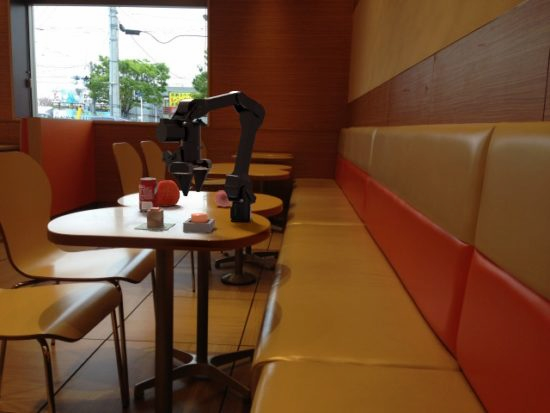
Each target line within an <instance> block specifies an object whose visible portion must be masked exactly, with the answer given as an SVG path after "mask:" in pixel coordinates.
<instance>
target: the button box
mask: <svg viewBox="0 0 550 413" xmlns="http://www.w3.org/2000/svg"><path fill="white" fill-rule="evenodd" d="M215 221H216V219H215V218H208V223H191V217H189V218H187V219H186V220H185V221H184V222H182V228H183V230H182V231H183V232H195V233H197V232H198V233H210V232H212V230H213V229H214V228H215V226H216V225H215V224H216V223H215Z"/></svg>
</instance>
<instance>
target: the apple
mask: <svg viewBox="0 0 550 413" xmlns="http://www.w3.org/2000/svg"><path fill="white" fill-rule="evenodd" d="M157 183H158V207H170V206H171V207H173V206H176V205H177V204H178V203H179V201H180V198H181V192H180V189H179V187H178V186H177V185H178V184H176V182H175V181H173V180H171V179H169V180H168V179H165V180H160V181H159V182H157Z"/></svg>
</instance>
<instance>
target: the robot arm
mask: <svg viewBox="0 0 550 413" xmlns="http://www.w3.org/2000/svg"><path fill="white" fill-rule="evenodd" d="M228 107H232V108H233V110H234V112H236V113H237V115H239V117H238V121H239V123H240V124H239V125H240V128H241V132H240V137H239V142H238V146H237V150H236V151H237V153H236V157H235V163H234V166H233V167H234V168H233V171H232V172H231V174H226V176H225V182H224V185H223V187H224V192H225V193H226V194H227V197H228V201H231V202H232V203H231V205H230V207H229V209H230V212H229V218H230V222H238V223H239V222H240V223H241V222H242V223H243V222H244V223H247V222H248V223H250V222H251V221H252V218H253V217H252V204H256V201H257V196H256V195H255V193H254V192H253V191H252V189H251V188H252V181H251V178H250V175H249V172H250V167H251V162H252V161H251V160H252V155H253V150H254V147H255V140H256V136H257V135H256V134H257V132H258V130H259V129H260V128H261V126H262V125H263V122H264V120H265V116H266V110H265V108H264V106H263V105H262V104H261V103H260V102H258V101H256V99H253V98H251V97H250V96H247V94H245V92H243V91H242V90H237V91H234V90H233V91H230V92H227V93H223V94H219V95H215V96H211V97H207V98H206V97H205V98H190V99H187V98H185V99H181V100H179V102H178V104H177V108H176V110H175V111H174V113H173V115H172V116H171V117H170V118H167V117H166V118H165V117H164V118H163V117H161V118H159V122H158V123H157V126H156V129H155V137H156V140H157V141H158V143H166V144H167V143H180V142H181V143H180V144H181V145H178V147H177V150H176V151H173V152H171V151H170V150H165V151H162V155H161V162H163V163H164V164H165V166H166V167H168V173H170V174H171V176H174V177H175V178H176V179H177V181H178V183H179V186H180V189H181V193H182V195H183V197H188V195H189V192H190V188H191V184H192V181H193V179H194V188H195V192H197V193H200V192H201V190H202V187H203V186H204V183H205V181H206V178H207V176H209V172H210V171H211V169H212V168H213V162H212V160H211V159H209V158H202V150H204V145H202V143H201V142H202V141H201V140H202V138H201V137H202V135H201V134H202V132H201V130H202V129H201V128H202V127H203V128H206V127H207V126H208V125H207V124H206V123H205V122H204V121H203V119H202V118H203V117H205V116H207V115H208V114H209V113H210V112H213V111H216V110H219V109H223V108H228Z"/></svg>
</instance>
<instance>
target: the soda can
mask: <svg viewBox="0 0 550 413" xmlns="http://www.w3.org/2000/svg"><path fill="white" fill-rule="evenodd" d="M158 183H159V182H158V181H157V178H155V177H141V178H140V180H139V182H138V209H139V211H142V212H143V211H148V210H150V208H152V207H156V208H159V206H158Z"/></svg>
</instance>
